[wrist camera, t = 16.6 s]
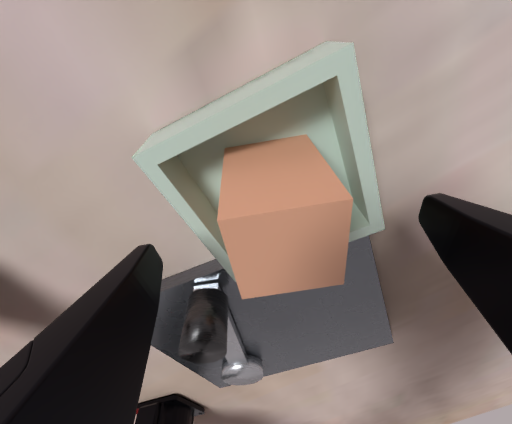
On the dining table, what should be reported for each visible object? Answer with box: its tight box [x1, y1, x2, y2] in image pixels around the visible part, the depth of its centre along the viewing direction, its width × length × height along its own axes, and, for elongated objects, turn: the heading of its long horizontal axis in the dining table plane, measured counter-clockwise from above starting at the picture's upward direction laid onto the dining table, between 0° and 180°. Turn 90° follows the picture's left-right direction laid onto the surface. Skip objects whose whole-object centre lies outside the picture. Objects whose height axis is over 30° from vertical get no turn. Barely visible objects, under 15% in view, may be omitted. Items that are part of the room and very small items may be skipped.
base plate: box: [151, 235, 394, 388], centre depth 19 cm, size 16×18×1 cm
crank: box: [178, 283, 263, 385], centre depth 17 cm, size 14×4×4 cm, turn 9°
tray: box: [132, 41, 385, 282], centre depth 11 cm, size 8×8×2 cm
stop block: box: [217, 134, 353, 299], centre depth 9 cm, size 4×4×5 cm
